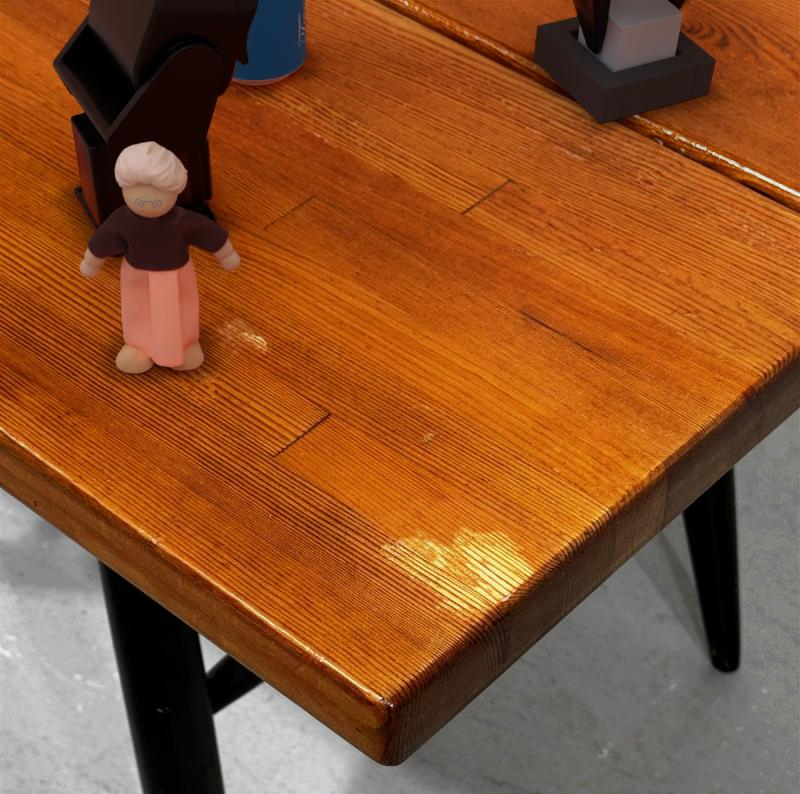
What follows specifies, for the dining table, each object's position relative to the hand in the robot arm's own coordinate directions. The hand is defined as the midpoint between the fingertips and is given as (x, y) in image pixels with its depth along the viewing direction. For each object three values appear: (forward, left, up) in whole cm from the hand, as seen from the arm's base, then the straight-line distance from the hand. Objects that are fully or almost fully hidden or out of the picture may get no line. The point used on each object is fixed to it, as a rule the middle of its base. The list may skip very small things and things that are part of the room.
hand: (625, 42), depth 93 cm
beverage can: (-21, +11, -3) cm, 24 cm away
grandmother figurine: (-36, -13, -3) cm, 38 cm away
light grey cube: (0, 0, -1) cm, 1 cm away
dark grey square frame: (0, 0, -2) cm, 2 cm away
